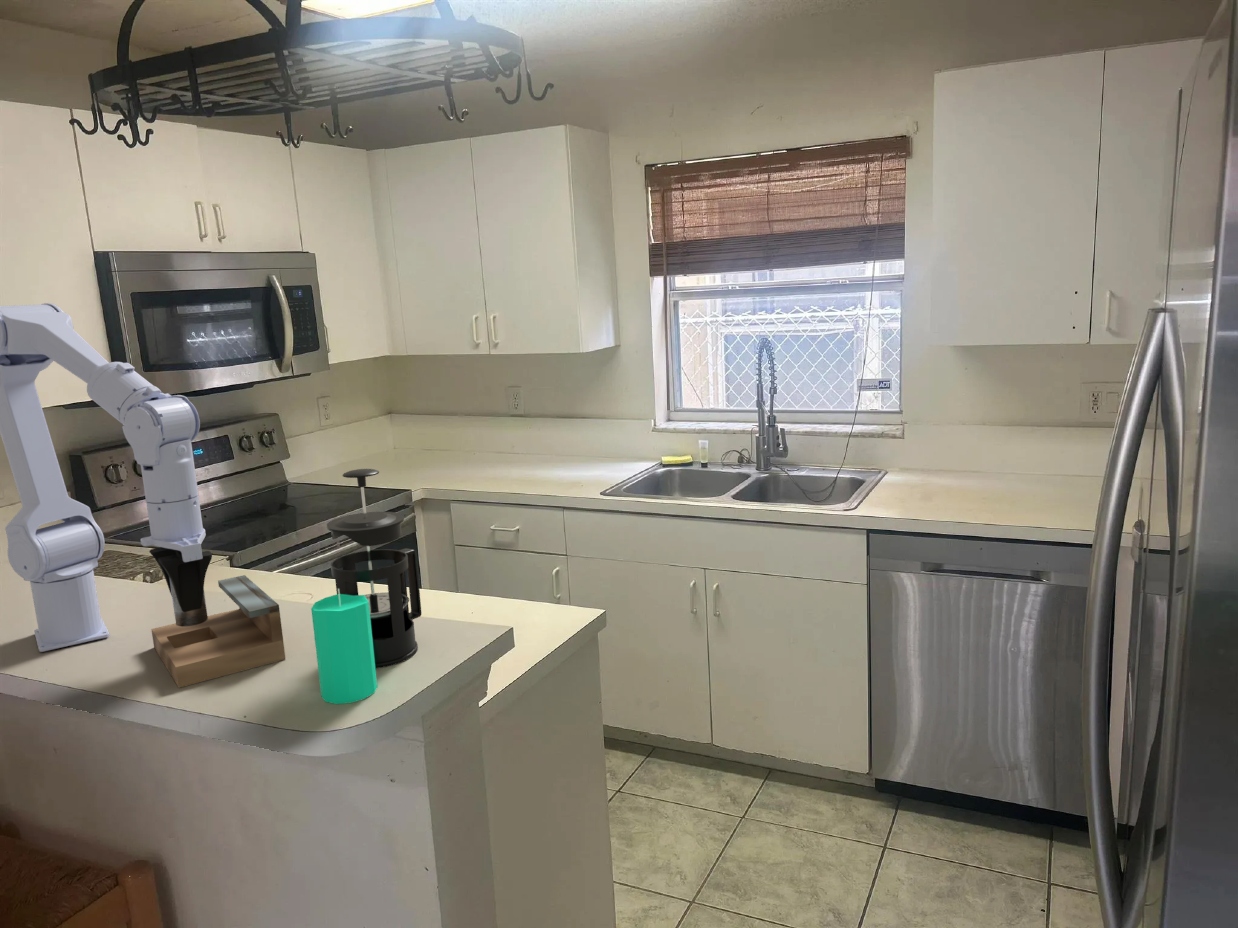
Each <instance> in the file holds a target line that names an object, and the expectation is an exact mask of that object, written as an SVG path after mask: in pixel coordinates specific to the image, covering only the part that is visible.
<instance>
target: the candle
mask: <svg viewBox="0 0 1238 928" xmlns="http://www.w3.org/2000/svg"><path fill="white" fill-rule="evenodd" d="M364 595H365V594H358V595H355V596H353V595H345V594H340V591H339V589H338V594H337V593H336V594H333V595H330V596H327V597H324V598H322V599H319V600H317V601H315V602H314V603H313V605H312V606H311V608H310V609H311V619H312V627H313V632H314V633H313V637H314V644H315V651H316V652H315V653H316V663H317V670H318V680H319V687H320V695H321V698H322V699H323V701H324V702H326V703H331V704H335V705H339V704H351V703H352V704H353V703H354V702H355V703H356V702H358V701H362V700H361V699H363V700H366V699H367V698H369V697H370V696H372V695H373V693H374V692H375V693H376V691H377V689H378V680H377V671H376V669H377V668H375V659H374V649H373V639H372V629H371V619H370V610H369V601H368V600H367V598H366V597H365V596H364ZM376 688H377V689H376ZM375 690H376V691H375ZM375 693H374V694H375ZM371 694H372V695H371ZM368 696H369V697H368ZM366 697H367V698H366Z"/></svg>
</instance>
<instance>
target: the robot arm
mask: <svg viewBox="0 0 1238 928" xmlns="http://www.w3.org/2000/svg"><path fill="white" fill-rule="evenodd" d="M53 362H54V363H56V364H58V365H59V366H60V367H62V368H63V369H65V370H67V371H68V372H69V373H71V374H73V375H74V376H75V377H77V378H79V379H80V380H81V381H83V382H84V383H86V393H87V396H88V397H89V398H90V399H91V400H92V401H93V402H94V403H96V404H97V405H98V406H99V407H101V409H103V410H104V411H105V412H107V413H108V414H109V415H110V416H112V417H113V418H114V419H115V420H117V421H118V422H119V423H120V424H122V426H121V428H122V431H123V435H124V437H125V440H126V442H128V445H130V447H131V450H132V451H133V455H134V457H133V458H134V460H135V461H136V463H137V465H140V471H141V475H142V482H143V483H142V484H143V490H144V496H145V503H146V504H145V505H146V509H147V517H148V523H149V529H150V531H149V532H150V536H144V537H142V538H140V545H142V546H143V547H151V546H154V547H155V548H151V549H150V550H149V553H150V555H151V556H152V557H153V559H154V560H155V561H156V563H157V565H158V566H159V568H160V571H161V572H162V574H163V576H164V580H165V582H166V585H167V588H168V590H169V593H170V595H171V597H172V593H171V586H170V579H171V582H172V584H173V587H174V590H175V593H176V597H177V600H178V603H179V605H180V607H181V609H182V611H183V612H187V611H191V610H196V609H200V608H201V607H202V601H203V590H204V591H205V588H204V587H205V581H206V575H207V570H208V568H209V566H210V563H211V561H212V558H213V553H212V552H211V551H210V550H204V551H202V543H203V541H204V540H205V537H206V535H207V534H206V529H205V528H204V526H203V519H202V512H201V505H200V496H199V490H198V489H199V488H198V481H197V475H196V469H195V468H196V467H195V458H194V452H193V445H192V441H194V440H195V439H196V438H197V437H198V434H199V432H200V429H201V428H200V427H201V420H200V415H199V413H198V410H197V408H196V406H195V405H194V404H193V403H192V402H191V401H190V400H189V399H188V397H187V396H185V395H181V394H177V395H176V394H174V395H171V394H170V393H164V392H162V390H161V389H160V388H159V387H157V386H155V385H153V383H151V382H149V381H148V380H147V379H146V378H144V377H143V376H142V375H141V374H139V373H138V372H137V371H135V366H133V365H132V364H131V363H129V362H122V361H111V362H109V361H108V360H107V359H106V358H104V357H103V356H102V355H101V354H100V353H99V351H97V350H96V349H95V348H94V347H93V346H92V345H90V343H88V341H86V340H85V339H84V338H83V337H82V336H81V335H80V334H79V333H78V332H77V331H76V330H74V324H73V319H72V317H71V315H70V314H69V313H67V312H64V311H63V310H62V308H61V307H60V306H58V305H56V304H55V303H51V302H47V303H46V302H45V303H41V304H19V305H16V304H15V305H0V438H1V440H2V444H3V448H4V451H5V454H6V458H7V461H8V464H9V467H10V471H11V474H12V476H13V480H14V484H15V487H16V489H17V494H18V497H19V500H20V503H21V508H20V509H19V510H18V512H17V513H16V514H15V515H14V516H13V518H11V520H10V521H9V522H8V523H7V524H6V525H5V528H4V530H5V532H6V538H7V559H8V561H9V564H10V567H11V568H12V570H13V571H14V572H15V573H16V574H17V575H18V576H19V577H21V578H22V579H23V581H25V582H26V581H27V582H29V584H30V588H31V595H32V600H33V601H32V602H33V605H34V611H35V617H36V622H37V628H35V629H34V630H33V633H34V636H35V639H36V644H37V647H38V652H40V653H42V652H48V651H51V650H56V649H60V648H65V647H68V646H69V647H70V646H74V645H79V644H83V643H87V642H92V641H96V640H101V639H105V638H108V637H109V636H110V632H109V630H108V628H107V625H106V624H105V622H104V619H103V618H102V615H101V610H100V609H101V608H100V603H99V597H98V592H97V586H96V579H95V572H94V569H95V568H97V567H99V564H98V561H99V560H100V559H101V557H102V556H103V555H104V551H105V535H104V534H103V533H104V532H103V530H102V529H101V527H100V526H99V525H98V524H97V522H96V521H95V519H94V517H93V514H92V510H91V508H90V506H88V505H86V504H84V503H82V502H80V501H78V500H75V499H73V498H71V497H70V496H69V494H68V491H67V487H66V484H65V481H64V477H63V474H62V470H61V468H60V464H59V461H58V457H57V454H56V451H55V447H54V444H53V443H54V442H53V440H52V438H51V437H52V436H51V434H50V430H49V427H48V424H47V420H46V417H45V413H44V411H43V407H42V404H41V400H40V398H39V393H38V390H37V386H36V383H35V382H36V379H37V378H38V376H39V374H40V373H41V371H44V370H46V369H47V368H49V367H50V366H51V364H52V363H53ZM56 521H62V522H61V523H56V524H52V525H49V526H45V527H41V528H39V527H40V526H43V525H46V524H49V523H53V522H56ZM169 577H170V579H169Z"/></svg>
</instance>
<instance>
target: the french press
mask: <svg viewBox="0 0 1238 928" xmlns="http://www.w3.org/2000/svg"><path fill="white" fill-rule="evenodd" d="M379 473H380V471H379V470H378V469H373V468H358V469H352V470H349V471H346V472H344V473H343V474H342V475H341V476H342V477H343V478H347V479H349V478H350V479H351V478H352V479H354V478H355V479H356V480H357V487H358V488H360V492H361V493H360V494H361V503H362V512H360V513H359V512H358V513H353V514H348V515H344V516H340V517H337V518H334V519H332V520H330V521H328V522H327V523H326V529H327V530H328V531H330V532H331V533H330V535H331V538H332V540H336V539H338V538H340V537H342V536H345V537H347V538H348V539H350V540H352V541H353V542H355V543H356V544H358V545H360V546H364V547H366V550H362V551H361V550H360V551H357V552H352V553H349V554H345V555H343V556H342V555H341V556H340V557H337V558H336V559H334V560H333V561H332V562H331V563H330V569H331V571H330V572H331V576H332V578H333V579H335V589H336V590H335V591H336V595H337V594H338V589H339V591H340V594H345V595H353V596H355V595H359V588H358V587H359V586H358V583H363V582H366V583H367V582H370V591H371V593H369V594H363V595H364V596H365V597H366V598H367V600H368V601H369V610H370V619H371V629H372V639H373V649H374V659H375V669H379V668H387V667H390V666H393V665H394V666H395V665H398V664H400V663H403V662H405V661H407V660H409V659H410V658H412V657H413V656H414V655H416V653H417V652H418V649H419V645H418V642H417V641H416V633H415V622H414V620H415V619H417V618H421V616H422V604H421V593H420V592H421V591H420V583H419V582H420V581H419V571H418V558H417V551H416V550H415V549H411V548H408V547H407V548H406V547H405V548H402V549H399V550H398V549H390V548H388V549H387V548H386V549H383V548H382V549H371V547H373V546H379V545H385V544H387V543H391V542H394V541H396V540H398V539H399V538H401V537H402V532H403V531H402V524H403V522H404V520H405V517H404V514H401V513H399V512H393V511H368V512H367V506H366V505H367V503H366V497H365V488H366V487H367V480H366V478H367V477H372V476H375V475H379ZM383 560H386V561H387V560H388V561H394V564H392V565H389V566H388V565H387V566H385V567H381V568H373V566H372V561H383ZM363 562H368V563H367V564H368V569H366V570H365V569H364V570H357V569H356V564H358V563H363ZM406 571H407V574H406ZM406 575H407V576H406ZM385 579H387V580H386V582H387V589H388V590H387V591H388V592H375V585H374V581H380V580H385ZM407 581H408V586H407ZM408 590H409V592H408ZM408 594H409V596H408ZM409 603H410V608H409Z"/></svg>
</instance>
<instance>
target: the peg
mask: <svg viewBox="0 0 1238 928" xmlns="http://www.w3.org/2000/svg"><path fill="white" fill-rule="evenodd" d="M169 579H170V577H169ZM170 586H171V593H172V596H171V599H172V606H173V612H174V613H173V614H174V621H175V623H176V625H177V626H182V627H185V626H193V625H197V624H201V623H203V622H205V621H207V620H208V616H209V615H208V610H207V609H208V608H207V604H206V603H207V602H206V594H205V589H204V590H203V601H202V607H201V608H200V609H196V610H191V611H187V612H183V611H182V609H181V607H180V605H179V603H178V600H177V597H176V593H175V590H174V587H173V584H172V582H171V579H170ZM171 593H170V594H171Z"/></svg>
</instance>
